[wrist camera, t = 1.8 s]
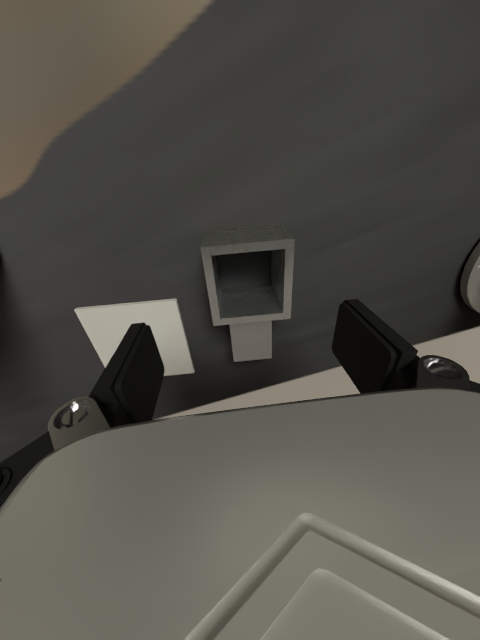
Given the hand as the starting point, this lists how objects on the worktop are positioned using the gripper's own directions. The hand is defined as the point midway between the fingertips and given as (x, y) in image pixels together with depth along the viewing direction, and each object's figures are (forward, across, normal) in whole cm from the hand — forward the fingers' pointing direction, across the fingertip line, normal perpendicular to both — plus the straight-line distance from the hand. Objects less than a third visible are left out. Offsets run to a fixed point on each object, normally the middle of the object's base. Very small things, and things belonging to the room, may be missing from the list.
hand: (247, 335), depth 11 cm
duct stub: (+12, +11, +8) cm, 18 cm away
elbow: (+11, -1, +3) cm, 12 cm away
